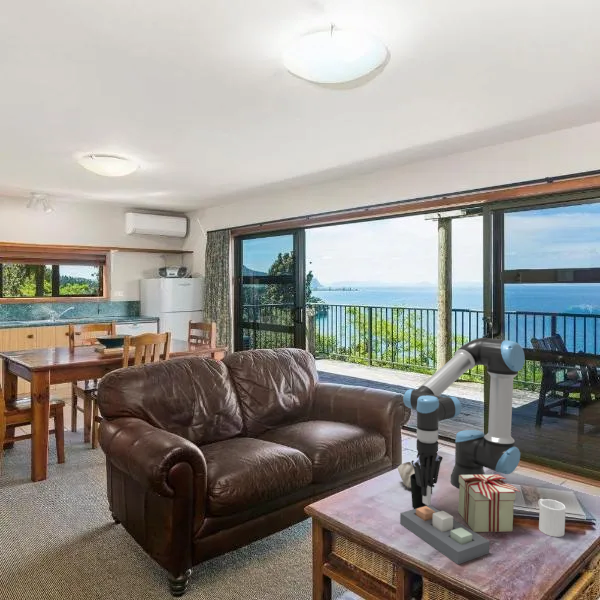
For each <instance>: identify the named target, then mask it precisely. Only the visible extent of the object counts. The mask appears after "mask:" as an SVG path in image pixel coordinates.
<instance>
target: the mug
mask: <svg viewBox="0 0 600 600" xmlns="http://www.w3.org/2000/svg"><path fill="white" fill-rule="evenodd" d="M537 503H538V509H539V518H538V519H539V520H538V529H539V531H540V532H541V533H542V534H545V536H546V535H547V536H550V537H555V538H558V537H559V538H560V537H564V535H565V529H566V505H565V504H564V503H563V502H561V501H558V500H555V499H551V498H550V499H549V498H547V499H546V498H540V499H538V501H537Z"/></svg>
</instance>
